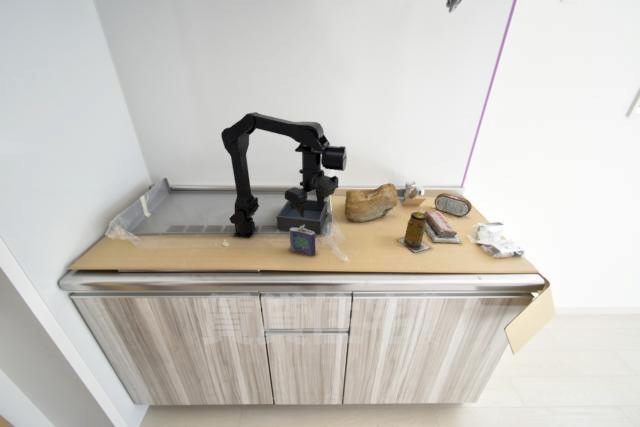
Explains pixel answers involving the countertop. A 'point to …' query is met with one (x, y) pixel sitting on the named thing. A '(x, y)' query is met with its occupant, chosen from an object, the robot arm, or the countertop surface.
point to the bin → (311, 219)
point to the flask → (302, 241)
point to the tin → (453, 204)
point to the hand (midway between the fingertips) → (311, 211)
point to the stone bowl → (370, 203)
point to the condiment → (415, 232)
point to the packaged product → (440, 228)
